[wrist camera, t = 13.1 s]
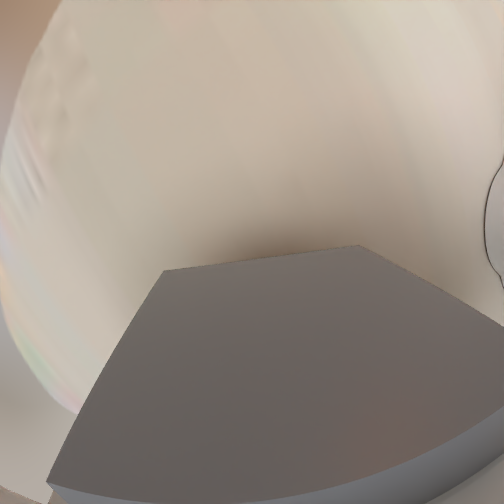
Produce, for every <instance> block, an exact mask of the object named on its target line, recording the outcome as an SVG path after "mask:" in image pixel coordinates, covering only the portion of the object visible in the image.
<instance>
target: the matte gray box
mask: <svg viewBox="0 0 504 504" xmlns="http://www.w3.org/2000/svg"><path fill="white" fill-rule="evenodd" d="M503 453H504V327H503V326H501V325H500V324H498V323H497V322H495V321H493V320H492V319H490V318H489V317H487V316H485V315H484V314H482V313H480V312H479V311H477V310H475V309H474V308H472V307H470V306H469V305H467V304H465V303H464V302H462V301H460V300H459V299H457V298H455V297H453V296H452V295H450V294H448V293H447V292H445V291H443V290H441V289H440V288H438V287H436V286H434V285H432V284H431V283H429V282H427V281H425V280H424V279H422V278H420V277H418V276H416V275H414V274H413V273H411V272H409V271H407V270H405V269H403V268H402V267H400V266H398V265H396V264H394V263H392V262H390V261H388V260H386V259H385V258H383V257H381V256H379V255H377V254H375V253H373V252H371V251H369V250H367V249H365V248H363V247H361V246H359V245H356V246H349V247H342V248H335V249H327V250H320V251H312V252H305V253H298V254H290V255H283V256H275V257H268V258H260V259H252V260H245V261H237V262H229V263H222V264H214V265H206V266H198V267H190V268H183V269H175V270H167V271H163V273H162V274H161V276H160V277H159V279H158V280H157V282H156V284H155V285H154V287H153V288H152V290H151V291H150V293H149V294H148V296H147V297H146V299H145V301H144V302H143V304H142V305H141V307H140V308H139V310H138V312H137V313H136V315H135V316H134V318H133V320H132V321H131V323H130V325H129V326H128V328H127V329H126V331H125V333H124V334H123V336H122V338H121V339H120V341H119V343H118V344H117V346H116V348H115V349H114V351H113V353H112V355H111V356H110V358H109V360H108V361H107V363H106V365H105V367H104V368H103V370H102V372H101V374H100V375H99V377H98V379H97V381H96V383H95V384H94V386H93V388H92V390H91V392H90V393H89V395H88V397H87V399H86V401H85V403H84V405H83V406H82V408H81V410H80V412H79V414H78V416H77V418H76V420H75V422H74V424H73V426H72V428H71V430H70V432H69V434H68V436H67V438H66V440H65V442H64V444H63V446H62V448H61V450H60V452H59V454H58V457H57V459H56V461H55V463H54V465H53V467H52V469H51V471H50V474H49V476H48V478H47V481H46V482H47V483H48V484H49V486H51V488H52V489H53V490H54V491H55V492H56V493H57V494H58V495H59V496H61V497H62V498H63V499H64V500H65V501H66V502H67V503H68V504H425V503H427V502H429V501H431V500H433V499H435V498H437V497H438V496H440V495H442V494H444V493H446V492H447V491H449V490H451V489H452V488H454V487H456V486H457V485H459V484H461V483H462V482H464V481H465V480H467V479H468V478H470V477H471V476H473V475H474V474H476V473H477V472H479V471H480V470H482V469H483V468H484V467H486V466H487V465H489V464H490V463H491V462H493V461H494V460H495V459H497V458H498V457H499V456H500V455H502V454H503Z"/></svg>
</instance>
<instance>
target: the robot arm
mask: <svg viewBox="0 0 504 504" xmlns="http://www.w3.org/2000/svg"><path fill="white" fill-rule="evenodd" d="M485 239H486V247H487V252H488V256H489V260H490V262H491V264H492V266H493V268H494V269H495V271H496V272H497V273H498V274H499V275H500V276H501V279H502V283H503V287H504V162H503V165H502V167H501V168H500V170H499V171H498V173H497V175H496V176H495V178H494V181H493V183H492V186H491V189H490V192H489V197H488V202H487V208H486V218H485ZM0 504H41V503H38V502H36V501H33V500H31V499H29V498H26V497H24V496H22V495H19V494H17V493H15V492H13V491H11V490H8V489H6V488H4V487H2V486H0ZM48 504H68V503H67V502H66V501H65V500H64V499H63V498H62V497H61V496H59V495H58V494H57V493H56V492H55V491H54V490H53V493H52V495H51V497H50V500H49V502H48ZM425 504H504V453H503V454H502V455H500V456H499V457H498V458H497V459H495V460H494V461H493V462H491V463H490V464H489V465H487V466H486V467H484V468H483V469H482V470H480V471H479V472H477V473H476V474H474V475H473V476H471V477H470V478H468V479H467V480H465V481H464V482H462V483H461V484H459V485H457V486H456V487H454V488H452V489H451V490H449V491H447V492H446V493H444V494H442V495H440V496H438V497H437V498H435V499H433V500H431V501H429V502H427V503H425Z"/></svg>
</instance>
